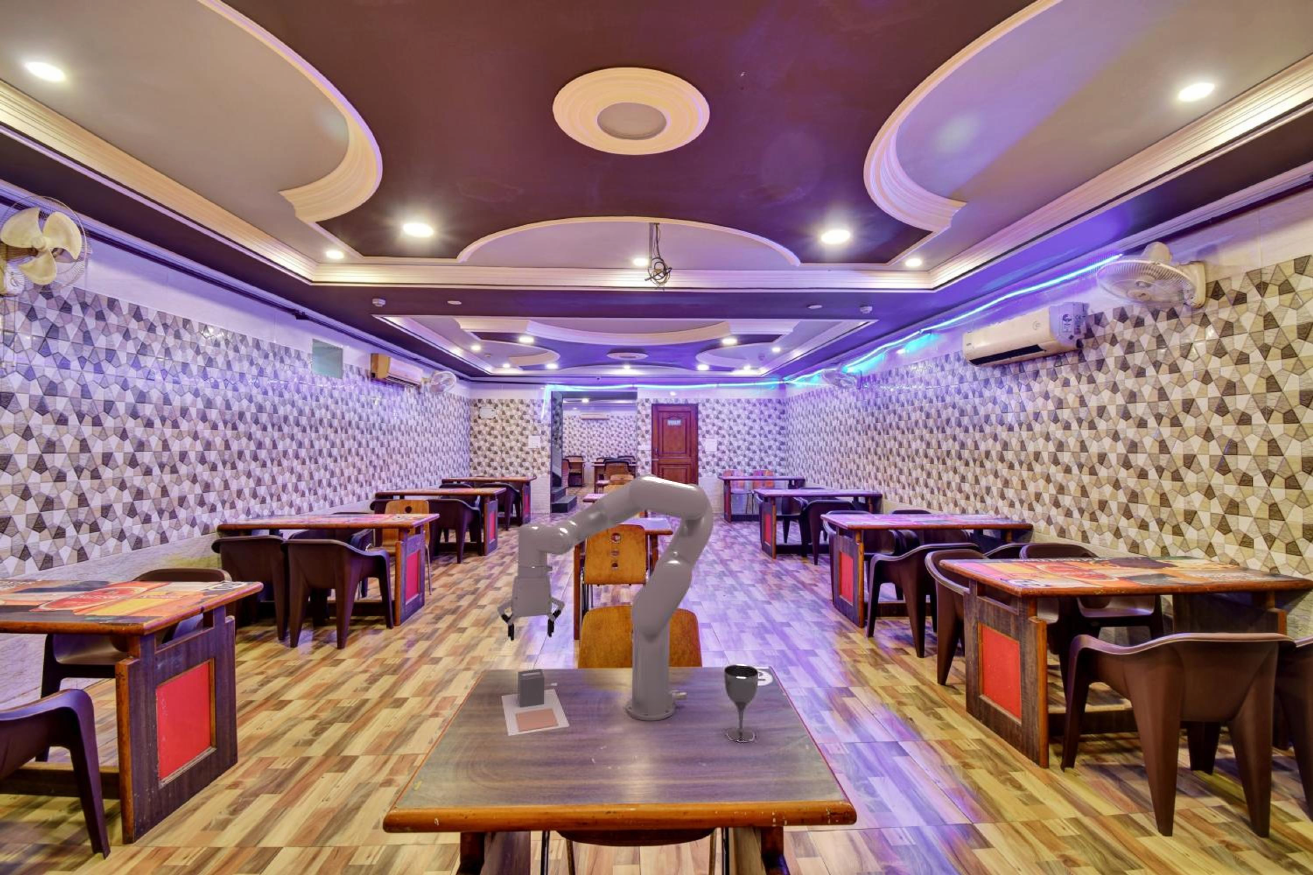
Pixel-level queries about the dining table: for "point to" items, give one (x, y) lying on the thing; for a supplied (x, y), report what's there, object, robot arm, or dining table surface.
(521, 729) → the board
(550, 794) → the dining table surface
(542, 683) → the dark grey block
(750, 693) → the wine glass
